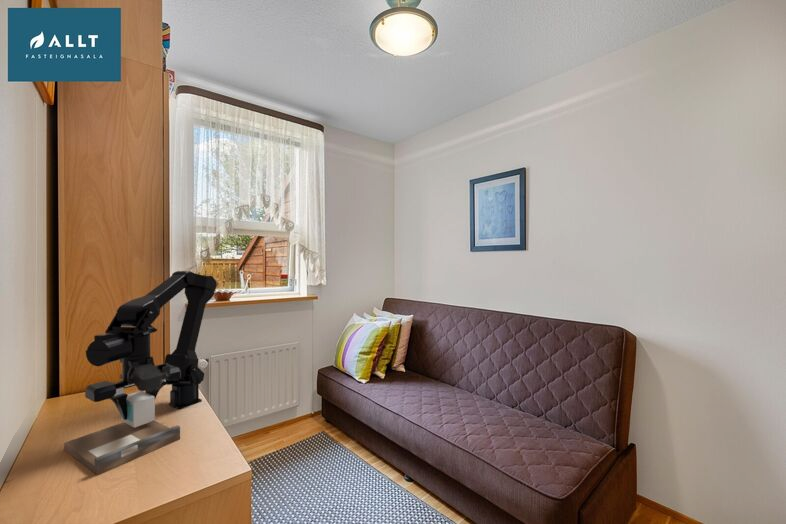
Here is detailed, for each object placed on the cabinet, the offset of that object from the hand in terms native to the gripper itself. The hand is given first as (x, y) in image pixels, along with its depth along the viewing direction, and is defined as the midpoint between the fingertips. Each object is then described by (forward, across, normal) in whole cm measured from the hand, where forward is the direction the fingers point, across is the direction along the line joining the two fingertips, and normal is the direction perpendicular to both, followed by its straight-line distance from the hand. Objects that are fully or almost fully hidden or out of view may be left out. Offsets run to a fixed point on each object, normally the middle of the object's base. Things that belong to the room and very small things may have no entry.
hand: (137, 415), depth 87 cm
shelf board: (+4, -4, -4) cm, 7 cm away
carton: (+1, 0, 0) cm, 1 cm away
